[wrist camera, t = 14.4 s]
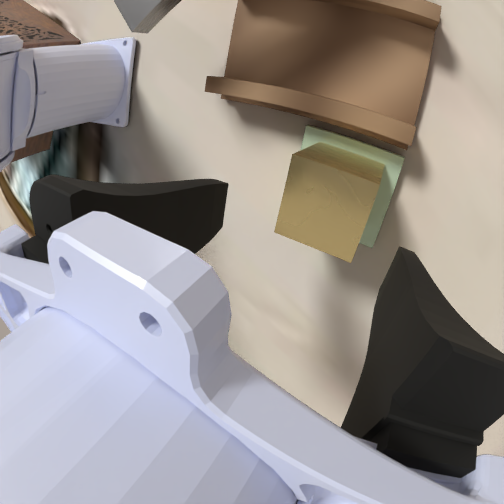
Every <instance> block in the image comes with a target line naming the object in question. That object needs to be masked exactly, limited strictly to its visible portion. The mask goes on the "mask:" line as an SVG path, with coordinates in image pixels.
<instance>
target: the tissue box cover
mask: <svg viewBox="0 0 504 504" xmlns="http://www.w3.org/2000/svg"><path fill="white" fill-rule="evenodd" d="M3 35H18V36H19V38H20V39H21V40H23V47H22V48H24V49H29V48H38V47H49V46H62V45H79V43H80V40H79V39H78V38H76V37H75V36H73V35H72V34H71V33H69V32H68V31H67V30H65V29H64V28H62V27H61V26H60V25H58V24H57V23H55V22H54V21H53V20H51V19H50V18H48V17H47V16H45V15H44V14H43V13H41V12H40V11H38V10H37V9H35V8H34V7H32V6H31V5H29V4H28V3H26V2H25V1H23V0H0V36H3ZM52 134H53V131H50V132H46V133H43V134H39V135H36V136H33V137H29V138H26V146H25V147H23V148H20V149H17V150H15V155H14V158H13V160H12V161H11V162H14V161H16V160H19V159H22V158H25V157H27V156H30V155H33V154H36V153H39V152H42V151H45V150H48V149H50V144H51V139H52ZM11 162H10V163H11Z"/></svg>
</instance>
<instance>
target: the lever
mask: <svg viewBox="0 0 504 504" xmlns="http://www.w3.org/2000/svg"><path fill="white" fill-rule="evenodd" d="M180 1H181V0H114V2H115V4H116V5H117V7H118V9H119V11H120V12H121V14H122V16H123V18H124V19H125V21H126V23H127V25H128V26H129V28H130V30H131V31H132V32H138V33H148V32H149V31H150V30H151V29H152V28H153V27H154V26H155V25H156V24H157V23H158V22H159V21H160V20H161V19H162V18H163V17H164V16H165V15H166V14H167V13H168V12H169V11H170V10H171V9H173V8H174V7H175V6H176V5H177V4H178V3H179V2H180Z"/></svg>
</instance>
